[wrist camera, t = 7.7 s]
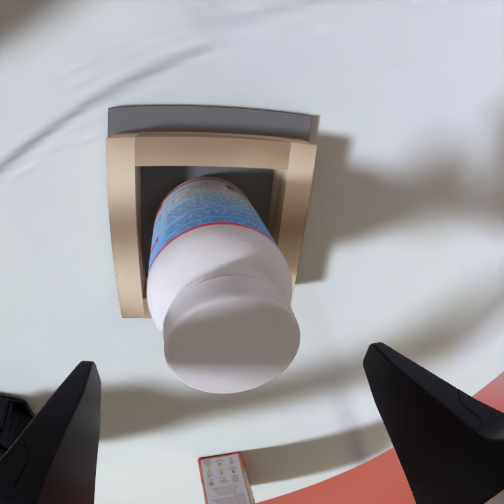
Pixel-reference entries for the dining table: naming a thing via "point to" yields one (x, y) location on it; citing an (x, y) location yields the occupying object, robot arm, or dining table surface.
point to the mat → (168, 177)
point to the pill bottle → (219, 289)
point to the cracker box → (225, 480)
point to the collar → (201, 154)
